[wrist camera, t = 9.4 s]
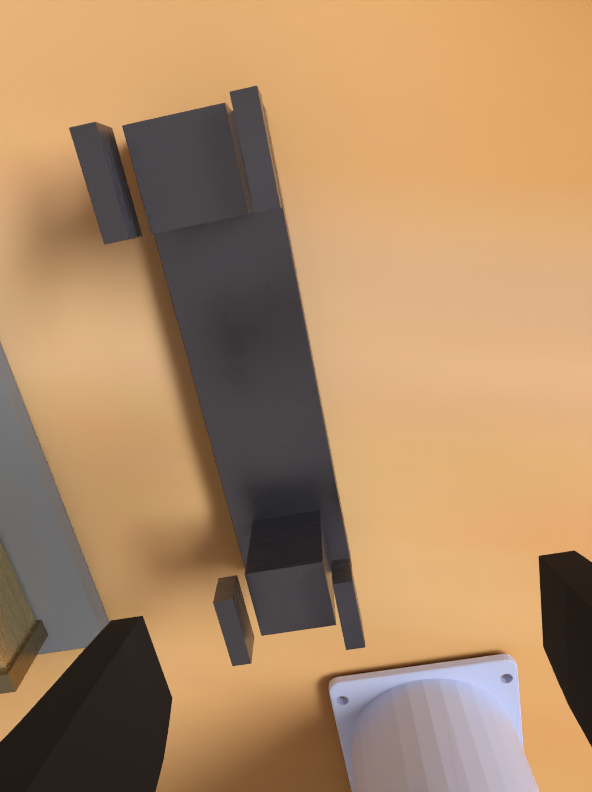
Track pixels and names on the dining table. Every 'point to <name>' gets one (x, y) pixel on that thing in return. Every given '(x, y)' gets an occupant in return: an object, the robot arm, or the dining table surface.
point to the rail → (16, 629)
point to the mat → (42, 532)
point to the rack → (240, 352)
